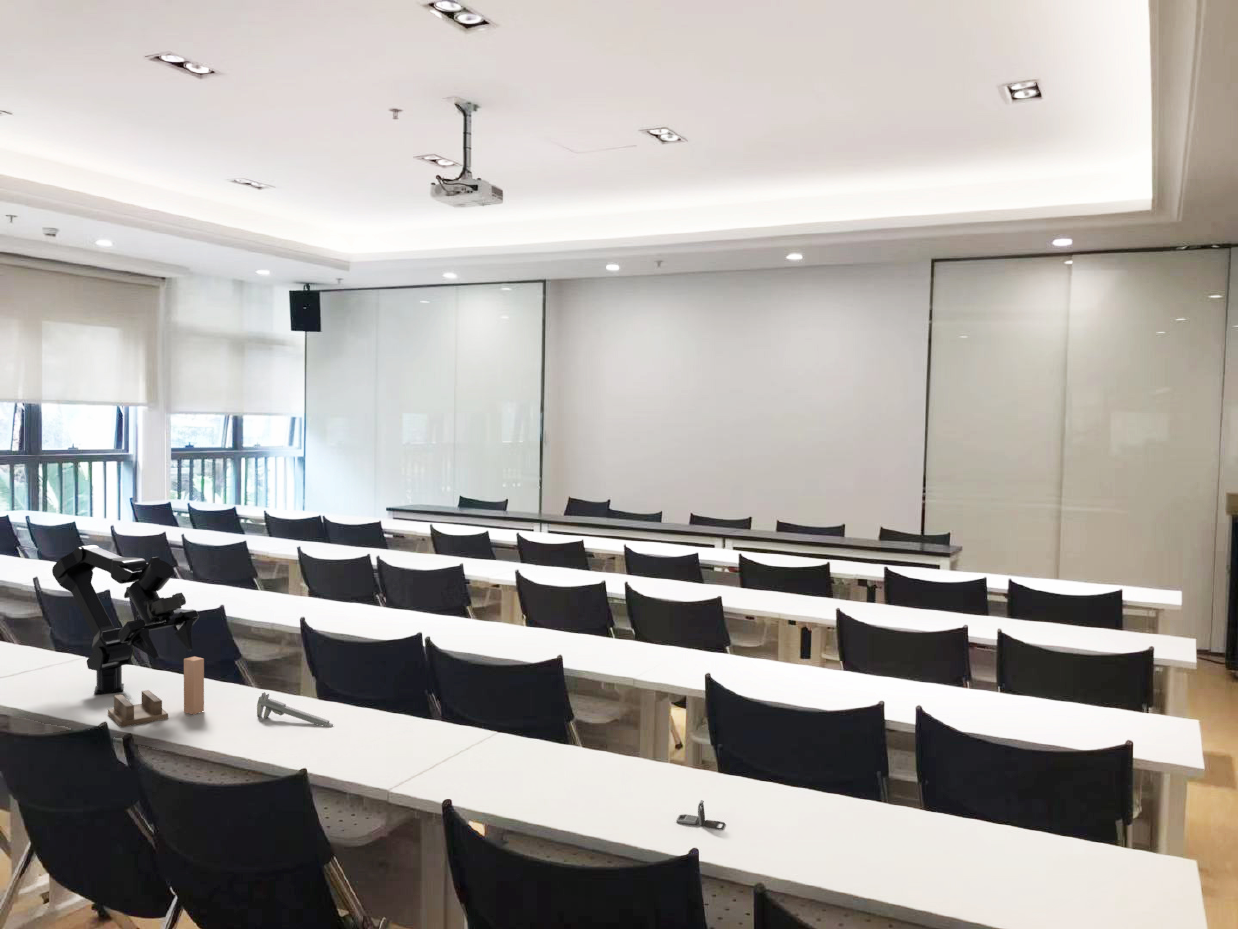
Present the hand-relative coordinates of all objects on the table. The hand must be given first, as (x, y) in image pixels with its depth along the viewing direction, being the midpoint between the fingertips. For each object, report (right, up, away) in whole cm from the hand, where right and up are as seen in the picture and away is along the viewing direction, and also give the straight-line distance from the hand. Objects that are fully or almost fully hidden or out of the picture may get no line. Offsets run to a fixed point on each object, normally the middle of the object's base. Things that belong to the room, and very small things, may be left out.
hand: (174, 654), depth 226 cm
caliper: (+33, -14, -9) cm, 37 cm away
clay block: (+6, -13, -4) cm, 15 cm away
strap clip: (+124, -18, -61) cm, 139 cm away
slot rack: (-5, -13, -8) cm, 16 cm away
